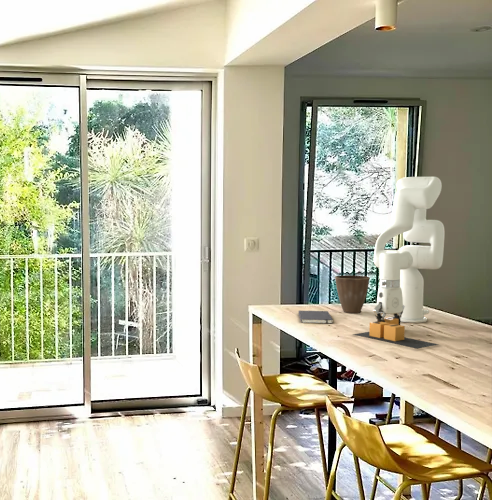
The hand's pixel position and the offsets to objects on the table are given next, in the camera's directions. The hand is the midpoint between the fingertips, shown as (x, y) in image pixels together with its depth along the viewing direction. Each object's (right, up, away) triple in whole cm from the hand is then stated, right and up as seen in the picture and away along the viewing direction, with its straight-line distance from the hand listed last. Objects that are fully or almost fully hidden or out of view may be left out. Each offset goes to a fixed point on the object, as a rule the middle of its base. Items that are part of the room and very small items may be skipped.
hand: (388, 328), depth 251 cm
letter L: (-8, -2, -11) cm, 13 cm away
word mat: (-4, -2, -16) cm, 17 cm away
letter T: (0, -1, 0) cm, 1 cm away
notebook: (-21, +1, +28) cm, 35 cm away
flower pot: (0, +2, +44) cm, 44 cm away
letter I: (-4, -2, -16) cm, 17 cm away
